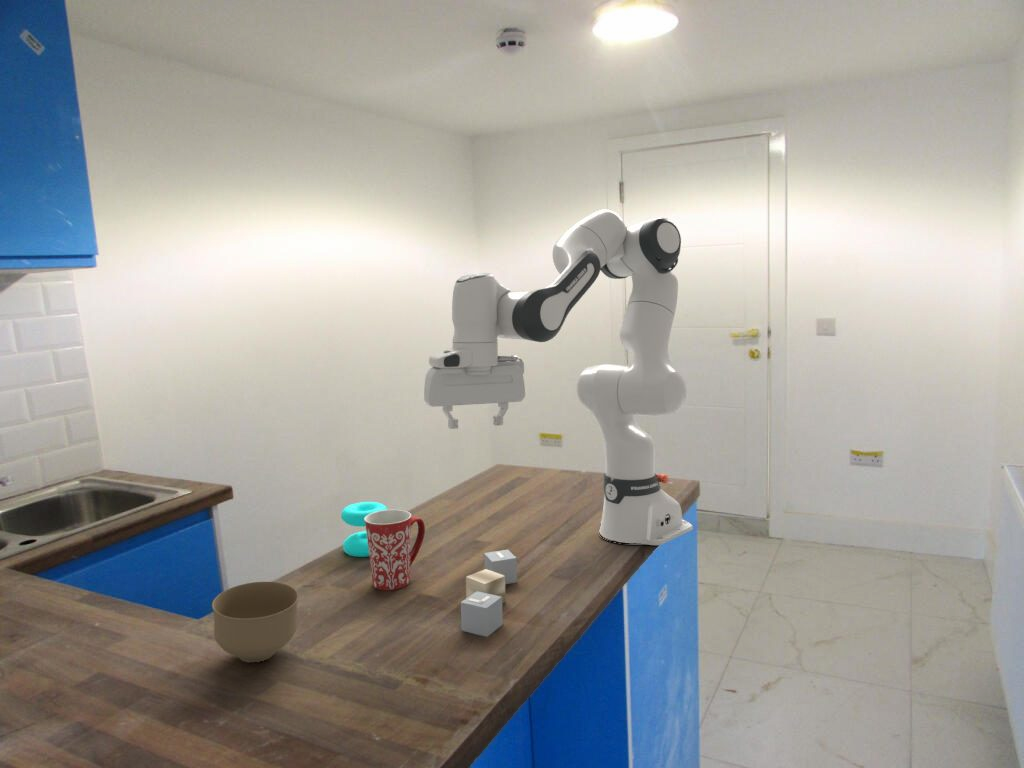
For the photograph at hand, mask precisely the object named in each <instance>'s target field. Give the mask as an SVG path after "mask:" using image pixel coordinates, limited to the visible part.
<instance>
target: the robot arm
mask: <svg viewBox="0 0 1024 768" xmlns="http://www.w3.org/2000/svg"><path fill="white" fill-rule="evenodd" d="M681 245H682V237H681V233H680V231H679V229H678V227H677V226H676V225H675V223H674V222H673V221H672V220H671V219H669V218H665V217H653V218H648V219H647V220H645V221H641V222H638V223H635V224H632V225H629V226H626V224H625V221H624V220H623V218H622V217H621V216H620V215H619V214H617V213H616V212H614V211H613V210H610V209H600V210H598V211H595V212H592V213H591V214H589V215H587V216H586V217H584V218H582V219H581V220H579V221H578V222H576V223H575V224H574V225H572V227H570V228H568V230H567V231H565V232H564V233H563V234H562V235H561V236H560V237H559V238H558V240H557V241H556V242H555V244H554V245H553V248H552V261H553V264H554V267H555V269H556V270H557V272H558V273H559V274H558V276H557V277H556V278H555V279H554V280H553V282H552V283H550V285H548V286H546V287H542V288H538V289H533V290H512V289H510V288H508V287H507V286H504V285H503V284H501V283H500V282H499V281H498V280H496V278H495V276H494V275H493V273H490V272H489V273H488V272H483V273H482V272H481V273H475V274H467V275H463V276H460V277H459V278H458V279H457V280H456V281H455V282H454V286H453V290H452V301H451V305H452V306H451V318H452V319H451V321H452V324H453V327H454V330H453V337H452V347H451V348H448V349H446V350H443V351H440V352H437V353H434V354H431V355H430V356H429V357H428V364H429V365H430V366H431V367H430V368H429V369H428V370H427V372H426V374H425V379H424V388H423V389H424V390H423V394H424V395H423V400H424V402H425V403H426V404H427V405H428V406H429V407H433V408H435V407H437V408H439V407H442V412H443V414H444V415H445V417H446V418H447V422H448V428H449V430H450V429H451V430H454V429H459V419H457V418H455V417H453V415H452V413H451V412H453V409H454V408H453V406H466V405H486V404H487V405H488V404H497V406H498V407H499V410H498V412H497V414H496V415H493V416H492V419H493V421H492V422H493V423H492V424H493V425H494V426H503V425H504V417H505V415H506V414H507V412H508V410H509V403H518V402H522V401H523V400H524V399H525V398H526V386H525V379H524V374H525V364H524V363H525V362H524V361H523V359H522V358H520V357H518V356H517V355H508V356H507V355H498V354H499V353H498V350H499V349H498V338H501V339H509V340H527V341H532V342H538V343H545V342H548V341H550V340H553V339H554V338H555V337H556V336H557V334H558V333H560V330H561V329H562V327H563V324H564V323H565V321H566V319H567V317H568V315H569V314H570V312H571V311H572V309H573V308H574V307H575V306H576V304H578V302H579V301H580V300H581V299H582V298H583V296H584V295H585V294H586V292H588V290H589V289H590V288H591V287H592V285H594V283H595V281H596V280H597V279H598V277H599V275H600V273H602V274H603V275H605V277H608V279H609V278H610V279H614V280H618V279H619V280H621V279H622V280H623V279H626V278H628V277H631V281H632V282H631V283H632V289H631V293H630V296H629V299H628V301H627V304H626V308H625V313H624V314H623V315H624V316H623V319H622V323H621V327H620V330H619V339H620V343H621V344H622V346H623V347H624V348H625V349H626V350H627V351H628V352H629V353H631V354H633V355H634V357H633V361H632V363H631V364H613V363H610V364H609V363H603V364H597V365H591V366H588V367H585V368H584V369H583V370H582V372H581V373H580V374H579V376H578V379H577V383H576V393H577V396H578V399H579V401H580V403H581V404H582V405H583V406H584V407H585V408H586V409H587V410H588V411H589V412H590V413H591V414H592V416H593V417H594V419H595V421H596V423H597V425H598V427H599V429H600V433H601V435H602V438H603V439H602V441H603V443H604V444H603V446H604V461H605V472H604V473H603V481H602V482H603V491H604V497H603V506H602V507H603V508H602V515H601V520H600V523H601V526H600V525H599V530H598V533H599V532H600V534H601V535H602V536H603V537H605V538H608V539H611V540H615V541H618V542H625V543H641V544H640V545H650V546H661V545H664V544H667V543H668V542H670V541H672V540H674V539H676V538H678V537H680V536H682V535H684V534H686V533H688V532H690V531H692V530H693V529H694V528H693V525H692V524H691V523H690V522H689V521H687V520H685V519H683V512H682V508H681V504H680V502H678V501H677V500H676V499H675V498H673V497H672V496H671V495H669V494H668V493H666V492H665V491H664V490H662V489H661V485H660V483H662V484H667V483H668V482H669V476H668V474H663V473H659V474H656V471H655V470H656V469H655V466H656V461H655V459H656V458H655V457H656V455H655V453H656V446H655V442H654V440H653V438H652V436H651V435H650V434H649V433H647V432H646V431H644V430H643V429H642V428H641V427H640V426H639V424H638V423H637V422H636V419H635V417H634V415H636V416H644V417H645V416H646V417H661V416H669V415H675V414H676V413H678V412H679V411H680V410H681V408H682V407H683V406H684V403H685V401H686V397H687V385H686V382H685V380H684V377H683V376H682V374H680V372H679V371H677V369H675V367H674V366H673V363H671V360H670V356H669V341H670V336H671V331H672V326H673V322H674V319H675V314H676V309H677V303H678V297H679V296H678V293H679V280H678V278H677V277H676V275H675V273H673V272H672V271H673V270H674V269H675V268H676V266H677V264H678V262H679V256H680V253H681Z"/></svg>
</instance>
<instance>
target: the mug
mask: <svg viewBox="0 0 1024 768" xmlns="http://www.w3.org/2000/svg"><path fill="white" fill-rule="evenodd" d="M364 521H365V524H366V526H365V529H366V530H365V531H366V532H367V540H368V549H369V556H368V557H369V563H370V572H371V581H372V582H371V583H372V586H373V588H375V589H378V590H381V591H393V590H398V589H403V588H405V587H406V586H408V585H409V584H410V582H411V567H412V564H413V563H414V561H415V559H416V557H417V556H418V555H419V554H418V553H419V551H420V549H421V547H422V545H423V543H424V537H425V531H426V527H425V522H424V520H423V519H422V518H420V517H418V516H413V515H412V513H410V512H409V511H406V510H402V509H387V510H382V511H377V512H374V513H371V514H369V515H367V516H366V517H365V518H364ZM415 523H417V528H418V529H417V536H416V539H415V541H414V543H413V545H412V548H411V530H412V529H411V528H412V526H413V525H414V524H415Z"/></svg>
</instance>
